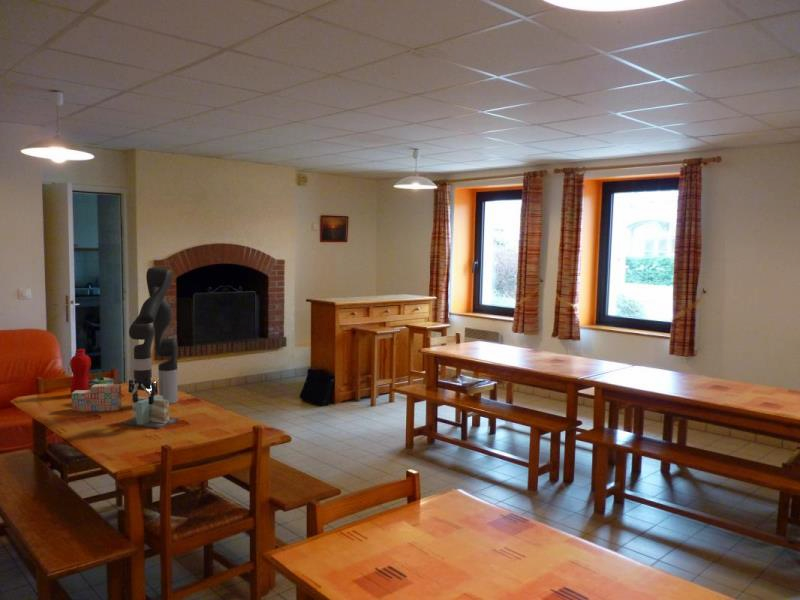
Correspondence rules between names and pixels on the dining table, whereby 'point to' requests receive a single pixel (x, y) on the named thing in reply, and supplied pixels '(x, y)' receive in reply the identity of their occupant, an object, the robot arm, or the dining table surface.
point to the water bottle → (80, 370)
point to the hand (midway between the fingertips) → (143, 403)
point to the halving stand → (153, 414)
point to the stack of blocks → (97, 398)
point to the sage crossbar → (144, 410)
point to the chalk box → (100, 381)
